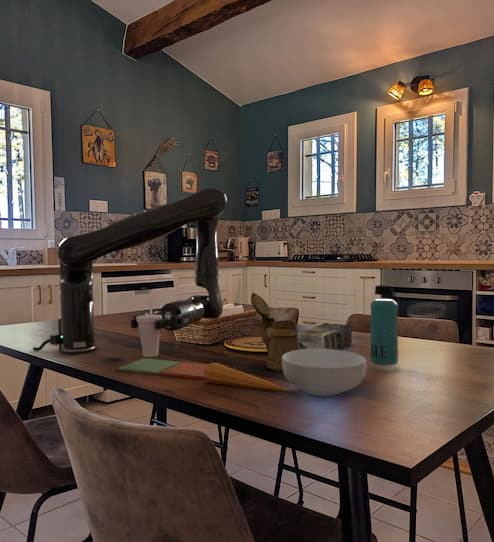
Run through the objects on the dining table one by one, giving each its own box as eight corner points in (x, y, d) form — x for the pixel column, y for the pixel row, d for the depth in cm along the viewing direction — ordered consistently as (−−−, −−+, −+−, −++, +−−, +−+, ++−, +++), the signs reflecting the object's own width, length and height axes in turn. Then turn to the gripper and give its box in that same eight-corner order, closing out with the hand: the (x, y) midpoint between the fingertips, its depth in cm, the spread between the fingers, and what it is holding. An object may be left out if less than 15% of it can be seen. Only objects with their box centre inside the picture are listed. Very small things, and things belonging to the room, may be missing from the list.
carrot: (202, 385, 112) (199, 368, 110) (213, 373, 115) (210, 356, 113) (286, 406, 102) (285, 389, 100) (295, 393, 106) (293, 375, 104)
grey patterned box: (324, 357, 134) (323, 333, 134) (291, 353, 140) (290, 331, 139) (353, 345, 150) (353, 324, 150) (322, 342, 156) (322, 322, 156)
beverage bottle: (398, 366, 123) (398, 284, 122) (398, 373, 117) (398, 286, 116) (370, 364, 125) (370, 283, 124) (368, 371, 119) (368, 286, 118)
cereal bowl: (310, 408, 93) (309, 370, 92) (267, 385, 108) (267, 353, 108) (384, 396, 100) (384, 360, 99) (334, 376, 115) (334, 345, 114)
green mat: (118, 370, 124) (118, 367, 124) (143, 360, 134) (143, 358, 134) (157, 374, 119) (156, 371, 119) (180, 363, 129) (180, 361, 129)
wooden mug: (261, 359, 133) (260, 290, 132) (309, 365, 126) (308, 292, 125) (243, 366, 126) (242, 293, 125) (292, 373, 118) (291, 296, 117)
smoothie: (158, 358, 123) (156, 300, 122) (133, 357, 124) (131, 300, 123) (167, 352, 129) (165, 297, 128) (143, 351, 130) (141, 297, 129)
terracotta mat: (160, 374, 119) (160, 372, 119) (183, 364, 129) (183, 361, 129) (202, 379, 114) (202, 376, 114) (223, 367, 124) (223, 365, 124)
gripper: (155, 300, 142) (119, 308, 127) (201, 301, 136) (169, 310, 121) (156, 327, 142) (120, 338, 127) (202, 329, 136) (170, 341, 121)
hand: (144, 324), depth 124 cm, fingers closed on smoothie, 6 cm apart
